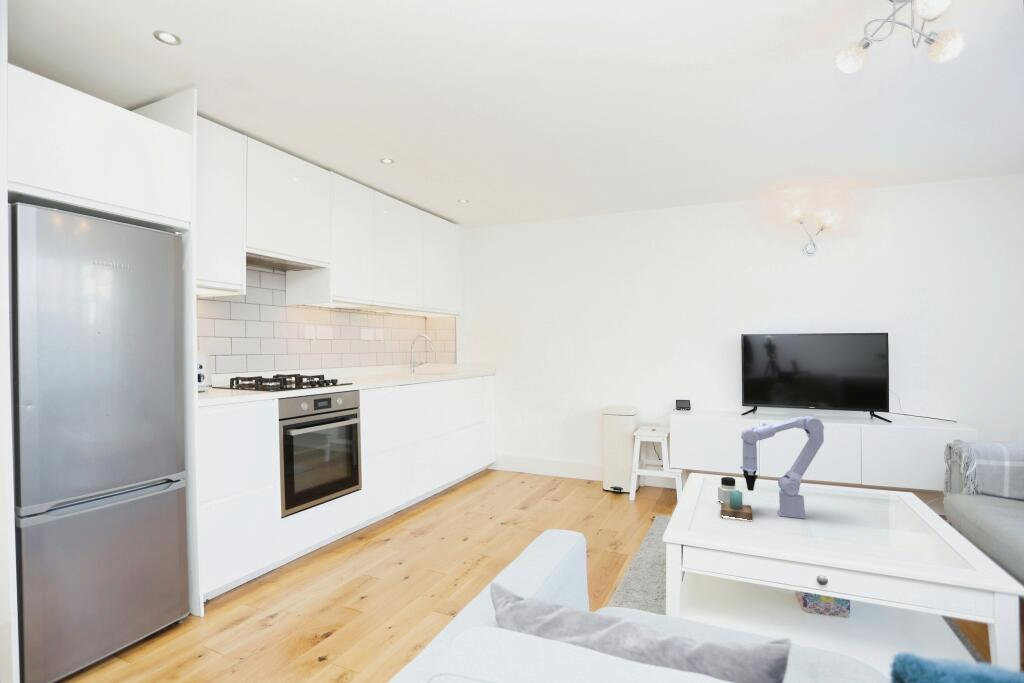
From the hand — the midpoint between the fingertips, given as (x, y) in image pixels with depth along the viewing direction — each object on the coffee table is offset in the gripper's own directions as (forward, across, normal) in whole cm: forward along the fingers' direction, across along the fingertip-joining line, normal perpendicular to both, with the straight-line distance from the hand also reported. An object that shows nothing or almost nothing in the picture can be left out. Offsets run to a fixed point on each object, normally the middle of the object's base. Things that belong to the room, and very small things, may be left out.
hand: (750, 488), depth 225 cm
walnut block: (+11, +8, -6) cm, 15 cm away
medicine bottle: (+11, -11, -9) cm, 18 cm away
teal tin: (+7, +8, -6) cm, 12 cm away
